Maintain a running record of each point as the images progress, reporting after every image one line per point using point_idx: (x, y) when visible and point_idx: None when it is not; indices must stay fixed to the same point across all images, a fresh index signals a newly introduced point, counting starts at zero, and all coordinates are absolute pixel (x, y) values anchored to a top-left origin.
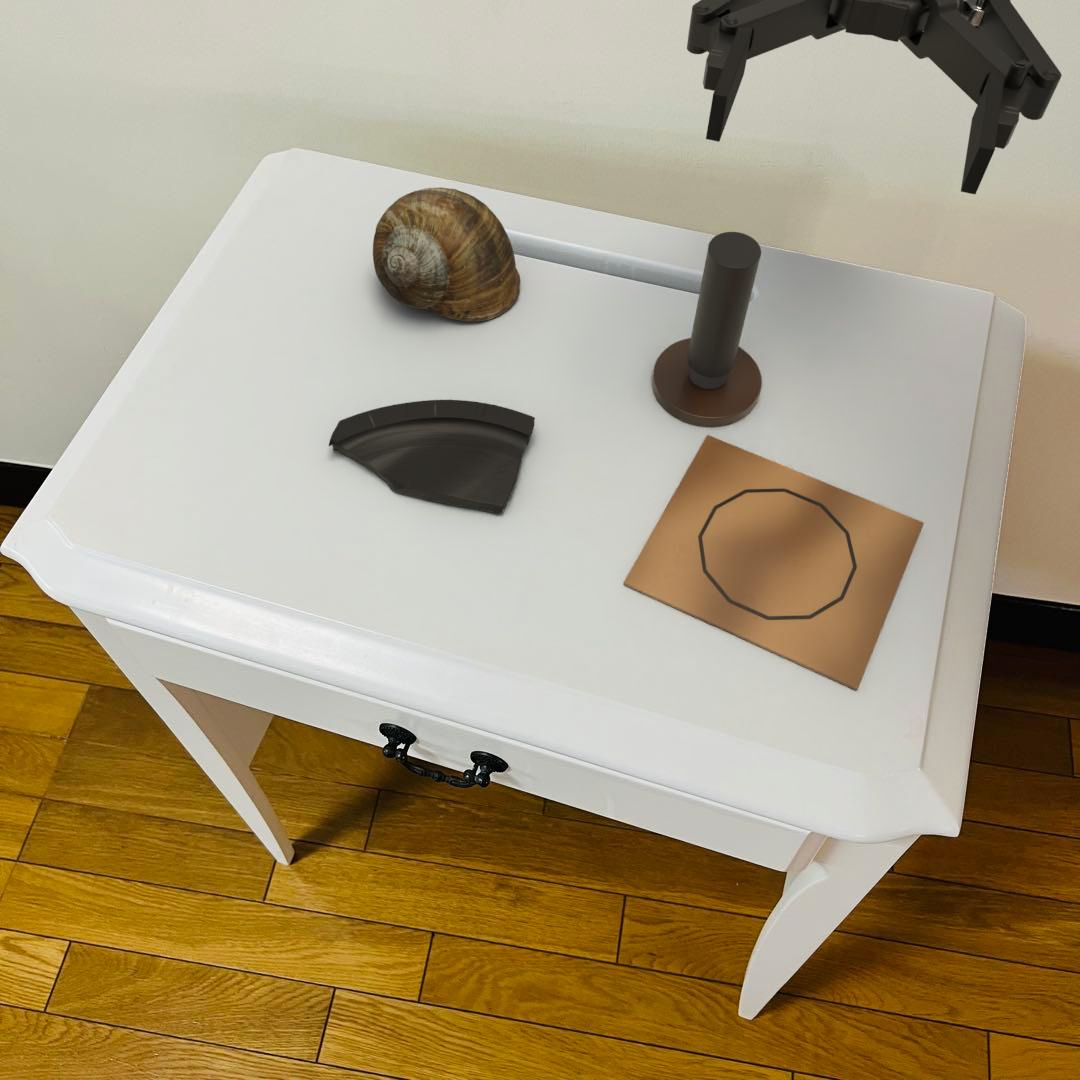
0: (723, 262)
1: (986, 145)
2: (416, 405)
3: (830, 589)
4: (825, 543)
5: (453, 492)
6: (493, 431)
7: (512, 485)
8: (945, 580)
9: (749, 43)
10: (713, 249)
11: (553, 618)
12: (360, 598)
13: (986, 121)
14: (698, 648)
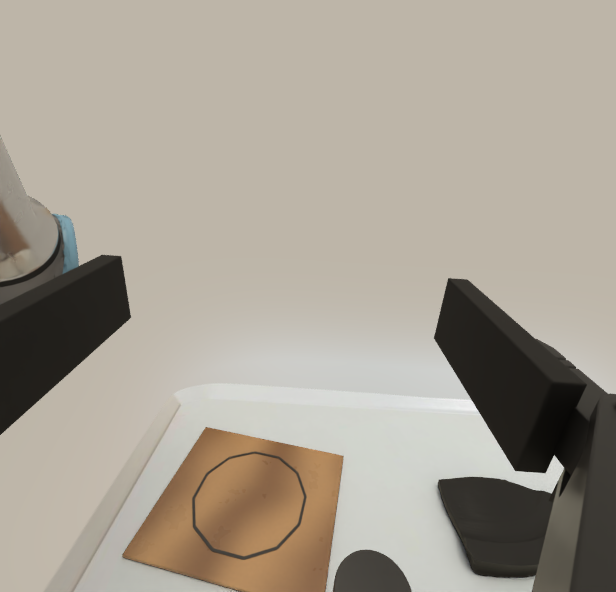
0: (378, 557)
1: (109, 257)
2: None
3: (213, 478)
4: (213, 513)
5: (474, 479)
6: (493, 541)
7: (444, 496)
8: (123, 508)
9: (536, 404)
10: (400, 581)
11: (371, 433)
12: (466, 425)
13: (80, 276)
14: (292, 433)
